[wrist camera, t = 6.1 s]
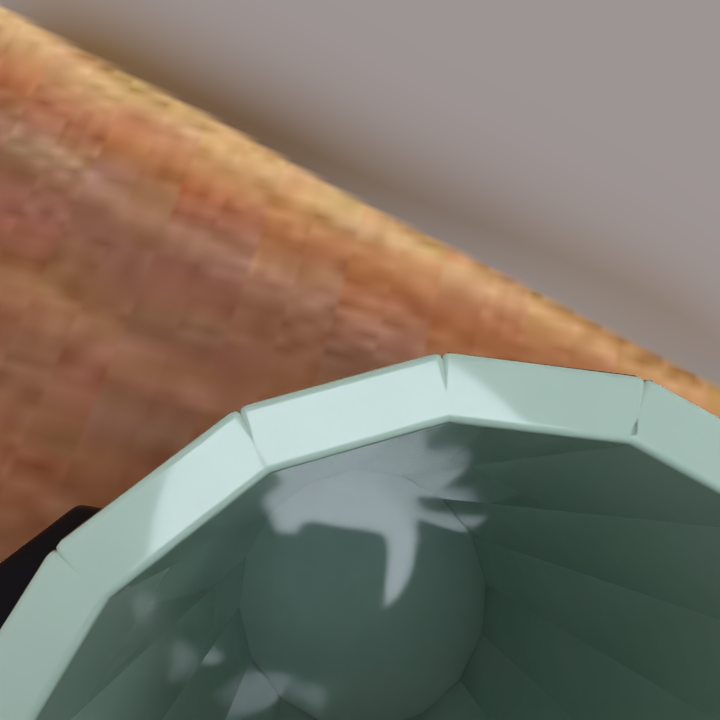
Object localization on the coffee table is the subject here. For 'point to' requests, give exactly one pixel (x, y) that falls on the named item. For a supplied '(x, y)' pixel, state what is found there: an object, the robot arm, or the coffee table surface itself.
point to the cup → (397, 560)
